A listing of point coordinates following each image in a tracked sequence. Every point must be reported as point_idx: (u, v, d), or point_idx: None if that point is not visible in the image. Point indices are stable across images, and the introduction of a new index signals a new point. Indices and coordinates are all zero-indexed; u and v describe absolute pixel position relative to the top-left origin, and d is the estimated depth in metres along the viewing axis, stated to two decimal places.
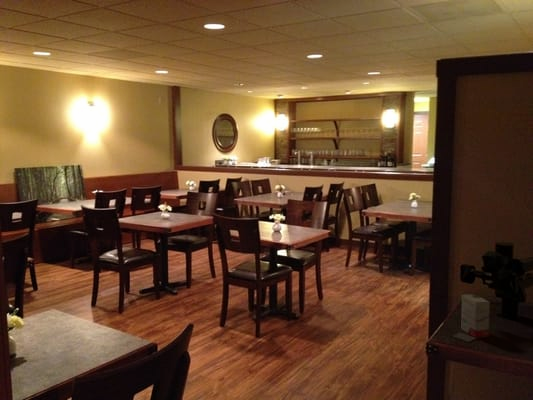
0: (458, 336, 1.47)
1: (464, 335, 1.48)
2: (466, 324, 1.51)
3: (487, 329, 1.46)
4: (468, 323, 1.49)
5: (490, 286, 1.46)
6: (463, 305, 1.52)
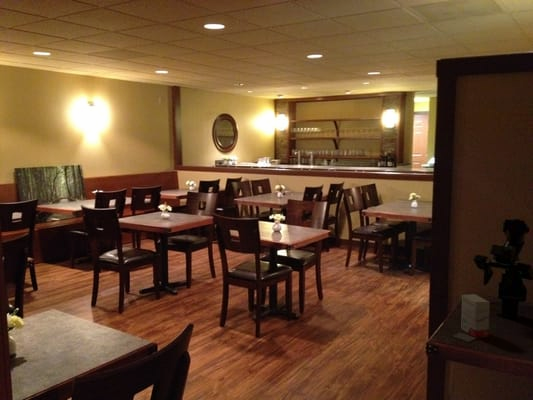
0: (458, 336, 1.47)
1: (464, 335, 1.48)
2: (466, 324, 1.51)
3: (487, 329, 1.46)
4: (468, 323, 1.49)
5: (503, 288, 1.53)
6: (463, 305, 1.52)
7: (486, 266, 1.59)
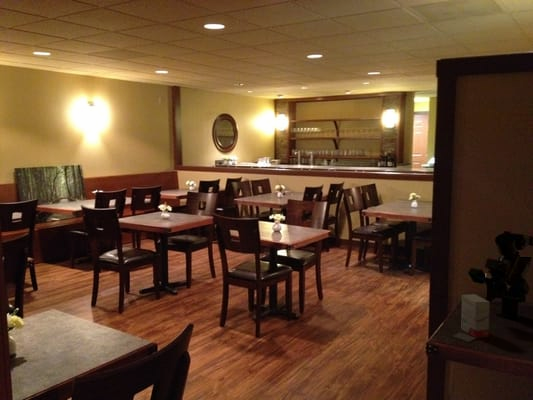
0: (458, 336, 1.47)
1: (464, 335, 1.48)
2: (466, 324, 1.51)
3: (487, 329, 1.46)
4: (468, 323, 1.49)
5: (490, 300, 1.53)
6: (463, 305, 1.52)
7: (489, 282, 1.55)
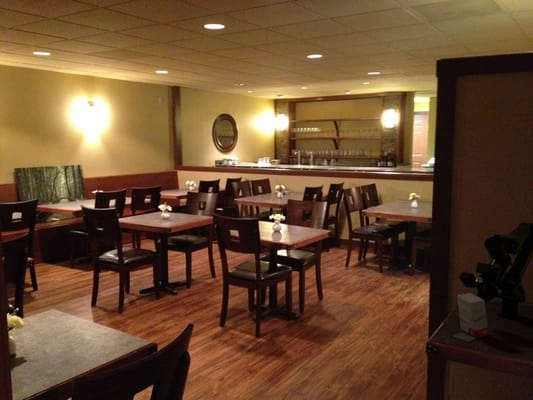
0: (458, 336, 1.47)
1: (464, 335, 1.48)
2: (464, 324, 1.51)
3: (486, 327, 1.46)
4: (466, 323, 1.49)
5: None
6: (459, 306, 1.52)
7: (480, 286, 1.52)
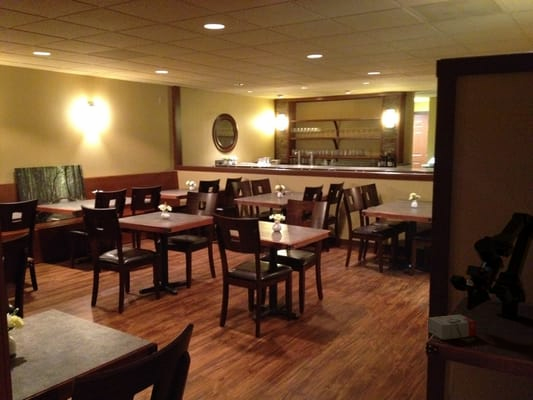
0: None
1: None
2: None
3: (468, 324, 1.45)
4: None
5: (470, 309, 1.47)
6: None
7: (470, 289, 1.49)
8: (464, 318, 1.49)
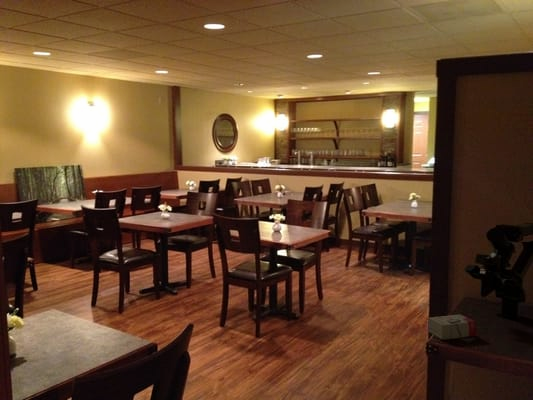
0: None
1: None
2: None
3: (468, 324, 1.45)
4: None
5: (484, 295, 1.53)
6: None
7: (482, 277, 1.55)
8: (464, 318, 1.49)
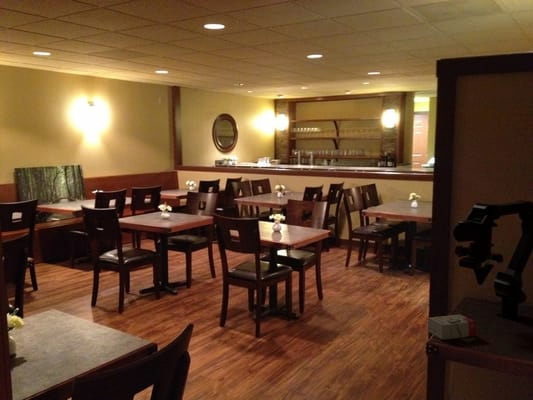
0: None
1: None
2: None
3: (468, 324, 1.45)
4: None
5: (479, 283, 1.59)
6: None
7: None
8: (464, 318, 1.49)
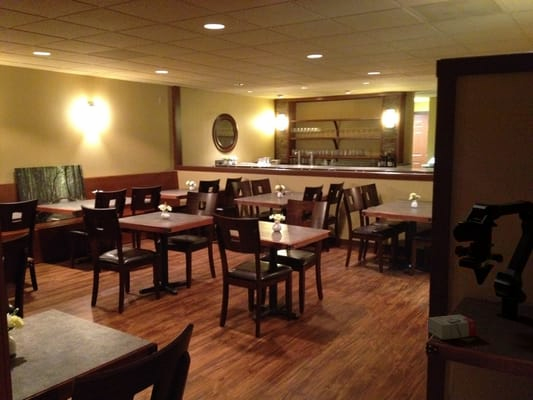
0: None
1: None
2: None
3: (468, 324, 1.45)
4: None
5: (479, 283, 1.59)
6: None
7: None
8: (464, 318, 1.49)
